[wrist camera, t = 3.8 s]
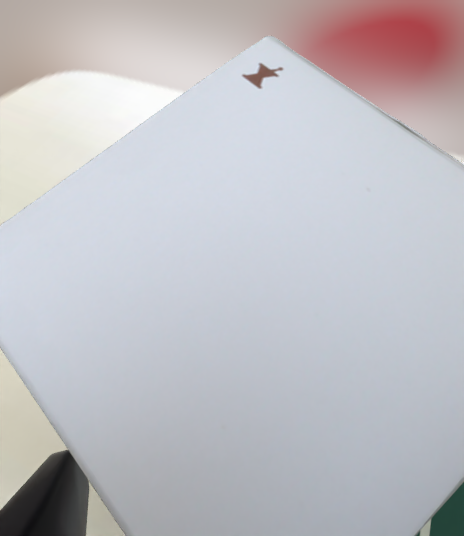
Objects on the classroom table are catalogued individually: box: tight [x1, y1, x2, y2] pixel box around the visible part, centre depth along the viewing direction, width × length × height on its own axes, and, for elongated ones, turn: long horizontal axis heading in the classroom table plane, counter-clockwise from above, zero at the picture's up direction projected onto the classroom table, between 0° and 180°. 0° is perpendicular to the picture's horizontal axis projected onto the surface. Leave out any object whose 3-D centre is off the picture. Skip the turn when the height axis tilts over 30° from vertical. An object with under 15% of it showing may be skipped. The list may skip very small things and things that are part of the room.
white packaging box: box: [0, 36, 464, 536], centre depth 12 cm, size 7×7×13 cm
